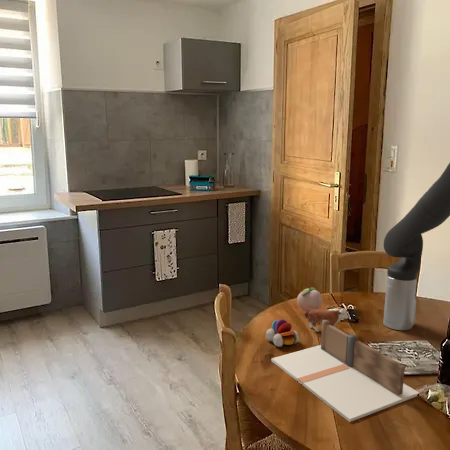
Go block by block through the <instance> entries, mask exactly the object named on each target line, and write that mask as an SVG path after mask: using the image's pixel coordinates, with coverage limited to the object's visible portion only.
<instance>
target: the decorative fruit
mask: <svg viewBox="0 0 450 450" xmlns="http://www.w3.org/2000/svg"><path fill="white" fill-rule="evenodd" d="M296 302H297V304H298V307H299V309H301V310H302V311H303V312H305V313H307V311H308V310H309V309H318V310H319V309H320V307H321V306H322V302H323V298H322V295H321V293H320V291H318V290H317V288H315V287H312V286H308V288H305V289H303V290H302V291H301V292H300V293H299V294H298V295H297V298H296Z"/></svg>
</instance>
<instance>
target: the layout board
mask: <svg viewBox="0 0 450 450" xmlns="http://www.w3.org/2000/svg"><path fill="white" fill-rule="evenodd" d="M335 327H336V326H335ZM335 327H333V326H332V325H330V323H329V321H328V320H322V325H321V339H320V340H321V341H320V344H318V345H316V346H311V347H308V348H305V349H301V350H298V351H293V352H290V353H288V354H283V355H279V356H275V357H272V358H271V359H270V361H271V362H272V363H273V364H274V365H276V366H277V367H279V369H281V370H282V371H283V372H284V373H286V374H288V376H290V377H291V378H292V379H294V380H295V381H296V382H297V381H298V382H297V383H298V384H300V385H301V384H302V385H301V386H302V387H304V388H305V389H307V390H308V391H309V392H310V393H311V394H313V395H315V397H316V398H318V399H320V401H322V402H323V403H324V404H326V405H327V406H328V407H329V408H331V409H332V410H333V411H335V412H336V413H337V414H338V415H340V416H341V417H342V419H345V420H346V421H347V422H349V423H351V422H354V421H356V420H359V419H362V418H364V417H367V416H369V415H373V414H375V413H377V412H380V411H382V410H385V409H388V408H390V407H393V406H396V405H398V404H401V403H403V402H405V401H406V402H407V401H408V400H411V399H413V398H416V397H418V396H417V395H418V394H419V395H420V392H419V391H417V390H415V389H414V388H413V387H410V386H409V385H407V384H406V383H404V382H403V392H402V394H401V395H398V394H396V393H394V392H393V391H391V390H390V389H388V388H387V387H385V386H383V385H382V384H380V383H379V382H377V381H375V380H374V379H372V378H371V377H369V376H368V375H366V374H364V373H363V372H361V371H360V370H358V369H357V368H355V367H353V359H354V345H355V341H357V340H358V335H356V334H353V333H352V334H351V333H350V334H347V333H346V332H344V331H342V330H340V329H339V328H337V327H336V328H335Z"/></svg>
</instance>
